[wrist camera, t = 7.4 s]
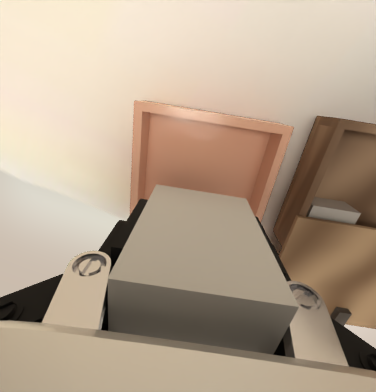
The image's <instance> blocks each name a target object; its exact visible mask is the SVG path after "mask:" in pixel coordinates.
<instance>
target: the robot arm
mask: <svg viewBox="0 0 376 392" xmlns="http://www.w3.org/2000/svg"><path fill="white" fill-rule="evenodd" d="M147 201H148V200H147V199H140V200H139V201H138V203H137V205H136V206H135V208H134V210H133V211H132V213H131V214H130V216H129V218H128V219H127V221H122V220H119V221H118V222H117V224H116V225H115V227H114V228H113V230H112V231H111V233H110V234H109V236H108V237H107V239H106V240H105V242H104V243H103V245H102V246H101V248H100V249H99V251H88V252H84V253H81V254H79V255H77V256H75V257H74V258H73V259H72V260H71V261H70V262H69V264H68V265H67V267H66V270H65V272H64V274H61V275H59V276H56V277H53V278H50V279H48V280H45V281H43V282H40V283H38V284H35V285H32V286H29V287H27V288H24V289H22V290H19V291H16V292H14V293H11V294H9V295H6V296H3V297H1V298H0V392H376V349H375V348H374V347H372V346H371V345H369V344H368V343H366V342H365V341H364V340H362V339H361V338H359V337H358V336H357V335H355V334H354V333H352V332H351V331H349V330H348V329H347V328H345V327H344V326H342V325H341V324H339V323H338V322H337V321H335V320H334V319H332V318H331V317H330V315H329V312H328V310H327V307H326V305H325V302H324V300H323V299H322V297H321V296H320V295H319V294H318V293H317V292H316V291H315V290H314V289H313V288H311V287H309V286H308V285H306V284H304V283H301V282H298V281H291V279H290V277H289V275H288V273H287V271H286V269H285V267H284V265H283V263H282V261H281V259H280V258H279V256H278V254H277V252H276V250H275V248H274V246H273V245H272V244H271V242H270V240H269V238H268V236H267V234H266V233H265V231H264V229H263V227H262V225H261V223H260V221H259V219H258V217H256V216H255V218H256V220H257V222H258V224H259V226H260V228H261V230H262V232H263V234H264V236H265V238H266V240H267V242H268V244H269V246H270V248H271V250H272V252H273V254H274V256H275V258H276V261H277V263H278V265H279V267H280V269H281V271H282V273H283V275H284V277H285V279H286V281H287V283H288V285H289V287H290V289H291V291H292V293H293V295H294V297H295V299H296V301H297V303H298V305H299V308H298V310H297V312H296V314H295V316H294V318H293V319H292V321H291V323H290V325H289V327H288V329H287V330H286V332H285V334H284V336H283V338H282V339H281V341H280V343H279V345H278V347H277V349H276V350H275V352H274V354H273V355H272V354H265V353H258V352H252V351H245V350H238V349H231V348H224V347H217V346H210V345H203V344H196V343H189V342H182V341H175V340H168V339H161V338H154V337H147V336H140V335H133V334H125V333H118V332H111V331H108V277H109V275H110V273H111V271H112V269H113V267H114V265H115V263H116V261H117V259H118V257H119V255H120V254H121V252H122V250H123V248H124V246H125V244H126V242H127V240H128V238H129V236H130V234H131V232H132V230H133V228H134V227H135V225H136V223H137V221H138V219H139V217H140V215H141V213H142V211H143V209H144V207H145V205H146V203H147Z"/></svg>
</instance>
